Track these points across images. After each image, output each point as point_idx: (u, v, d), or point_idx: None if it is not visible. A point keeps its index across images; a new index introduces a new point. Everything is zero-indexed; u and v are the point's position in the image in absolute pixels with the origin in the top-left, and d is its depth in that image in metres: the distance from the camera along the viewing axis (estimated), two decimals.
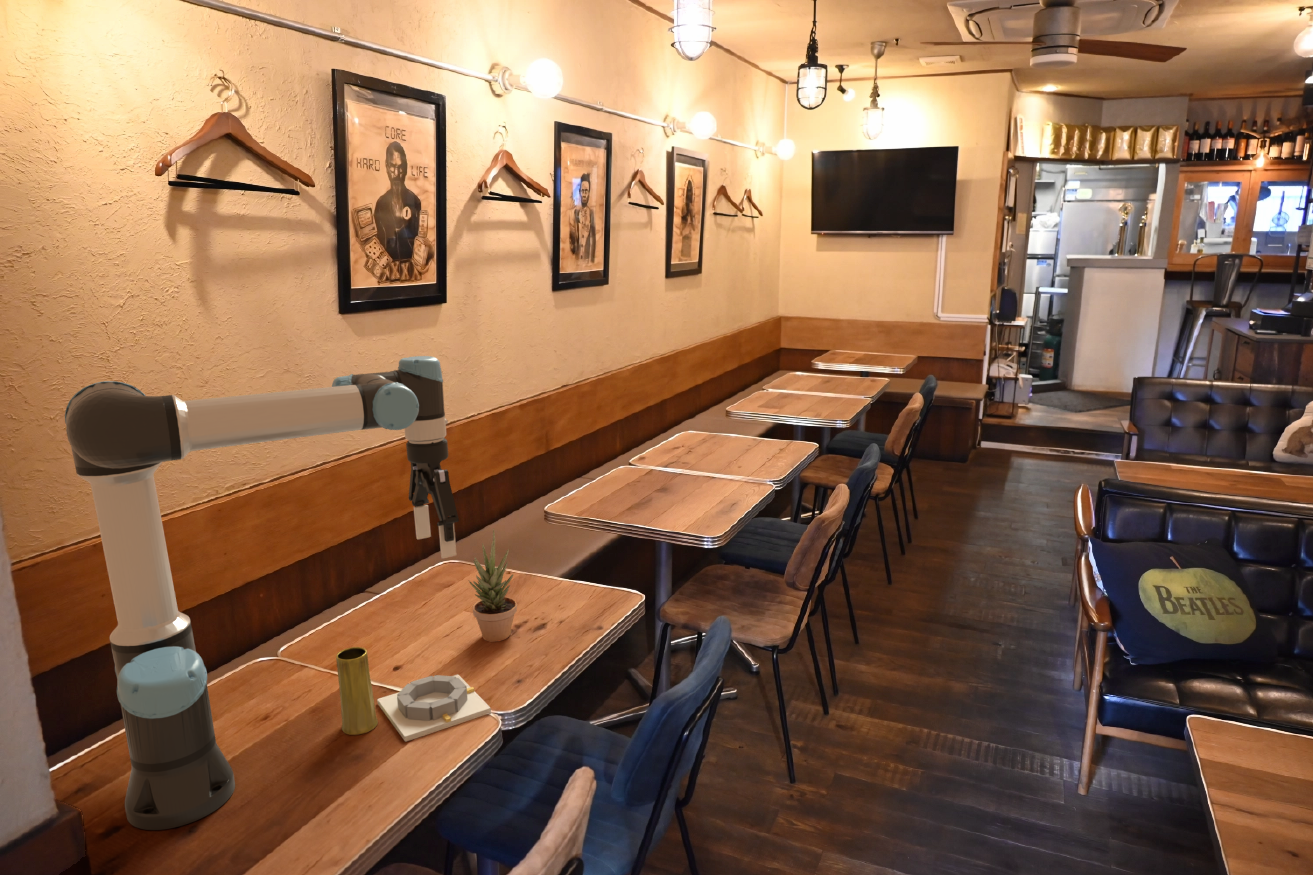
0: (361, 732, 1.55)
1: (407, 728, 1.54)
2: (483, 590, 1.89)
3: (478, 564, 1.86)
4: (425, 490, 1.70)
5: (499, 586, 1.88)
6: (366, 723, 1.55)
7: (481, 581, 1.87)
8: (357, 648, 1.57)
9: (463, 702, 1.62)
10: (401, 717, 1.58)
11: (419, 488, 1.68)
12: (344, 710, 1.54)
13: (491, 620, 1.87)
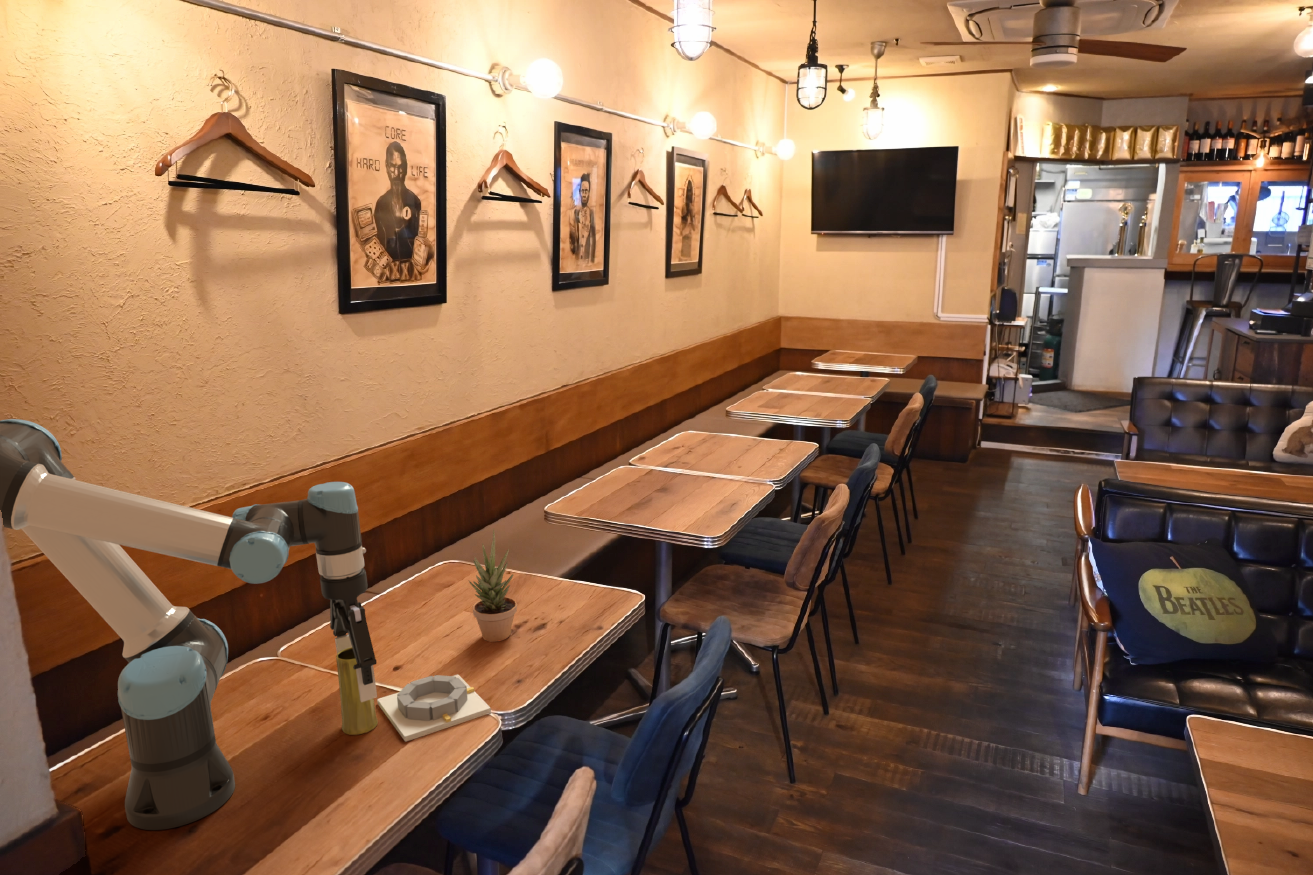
0: (361, 732, 1.55)
1: (407, 728, 1.54)
2: (483, 590, 1.89)
3: (478, 564, 1.86)
4: None
5: (499, 586, 1.88)
6: (366, 723, 1.55)
7: (481, 581, 1.87)
8: None
9: (463, 702, 1.62)
10: (401, 717, 1.58)
11: (338, 620, 1.56)
12: (344, 710, 1.54)
13: (491, 620, 1.87)
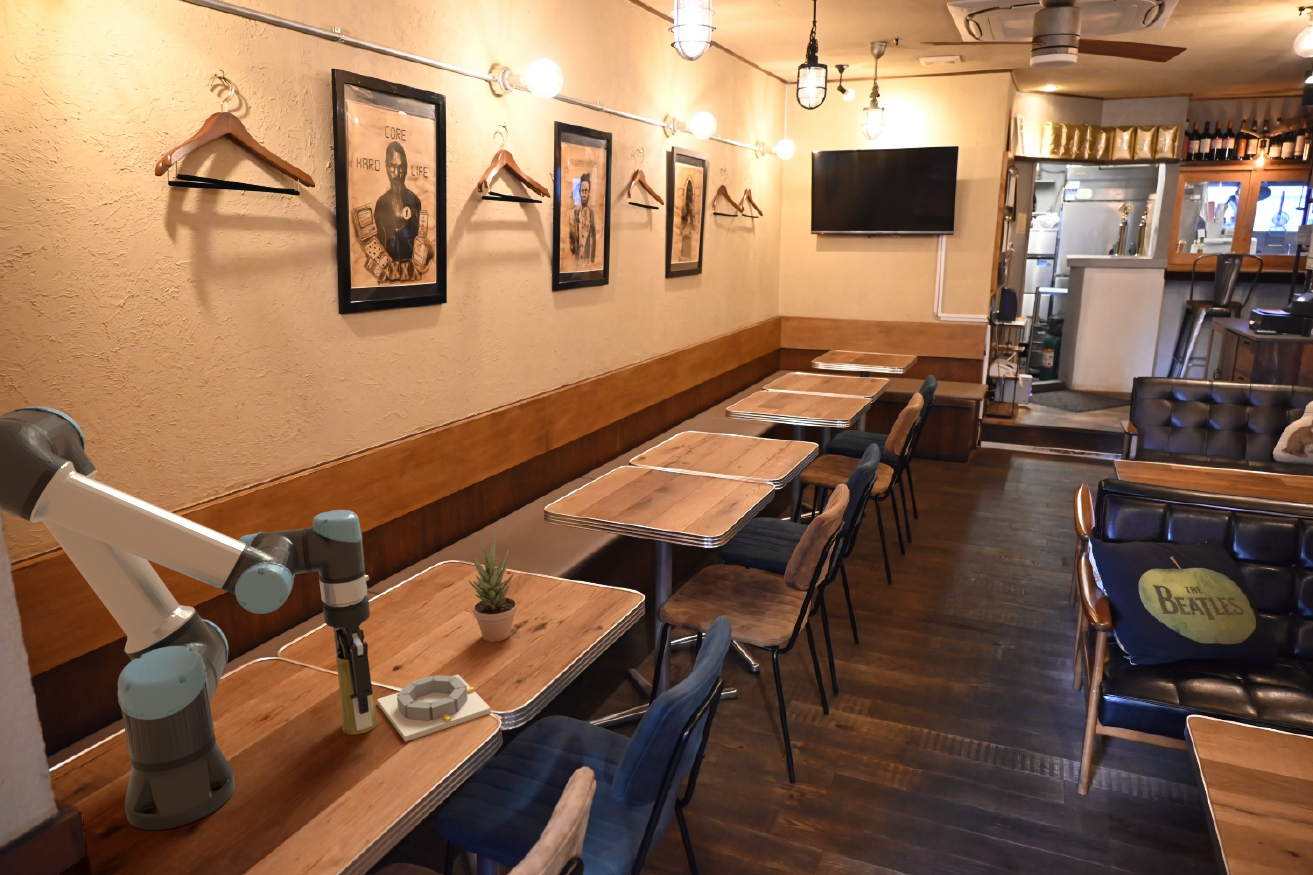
0: (361, 732, 1.55)
1: (407, 728, 1.54)
2: (483, 590, 1.89)
3: (478, 564, 1.86)
4: None
5: (499, 586, 1.88)
6: None
7: (481, 581, 1.87)
8: None
9: (463, 702, 1.62)
10: (401, 717, 1.58)
11: (343, 653, 1.55)
12: (344, 710, 1.54)
13: (491, 620, 1.87)
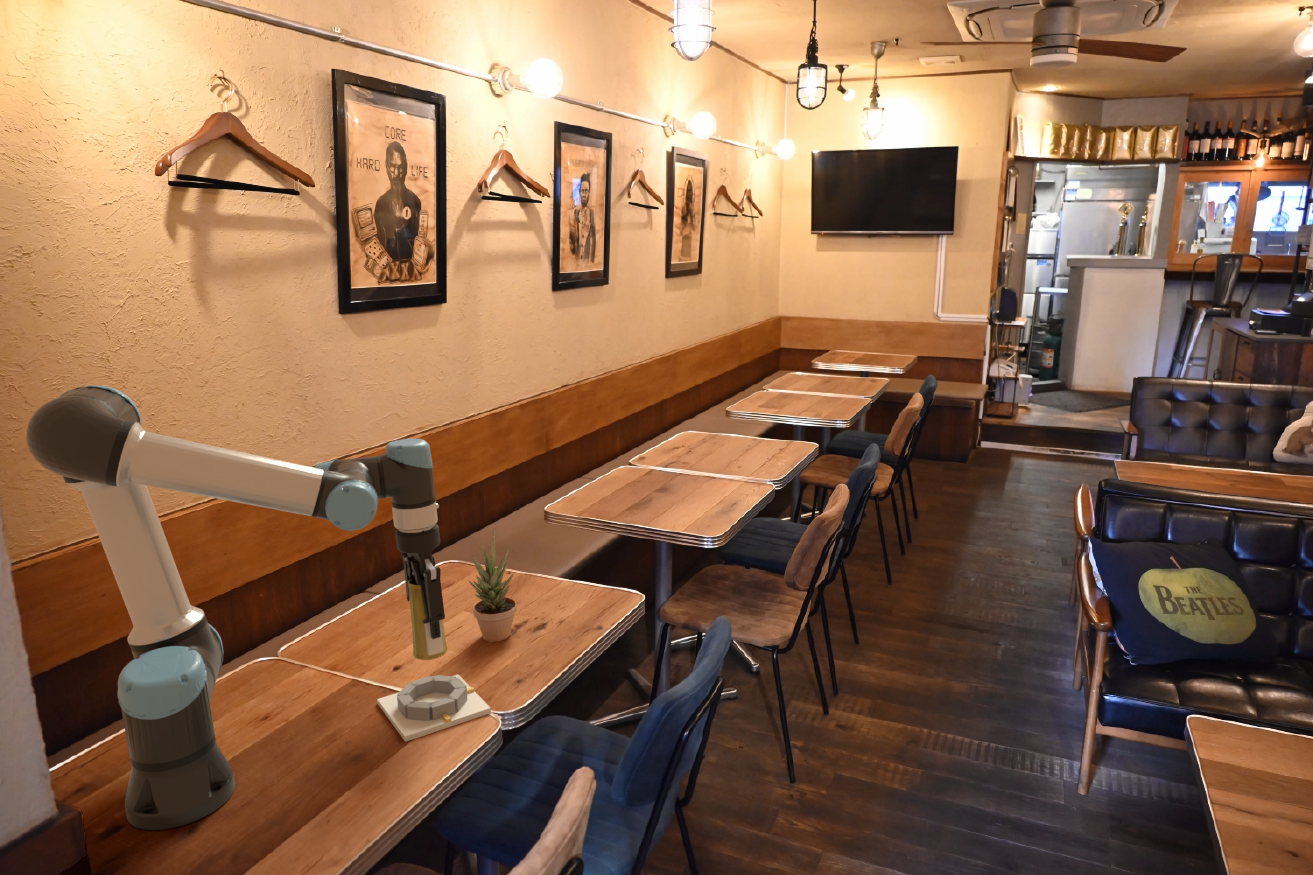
0: (433, 657, 1.58)
1: (407, 728, 1.54)
2: (483, 590, 1.89)
3: (478, 564, 1.86)
4: None
5: (499, 586, 1.88)
6: None
7: (481, 581, 1.87)
8: None
9: (463, 702, 1.62)
10: (401, 717, 1.58)
11: (413, 581, 1.58)
12: (416, 636, 1.57)
13: (491, 620, 1.87)
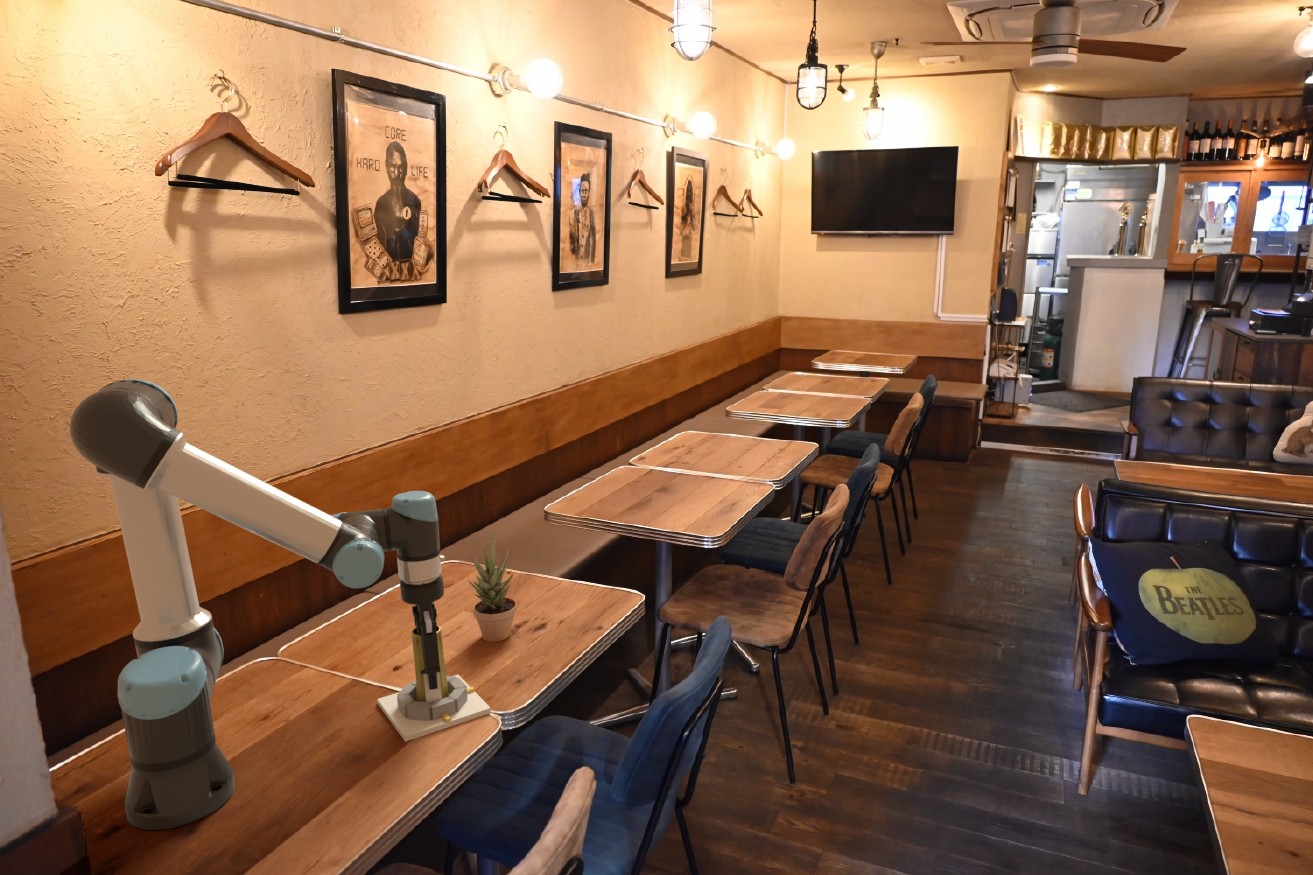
0: None
1: (407, 728, 1.54)
2: (483, 590, 1.89)
3: (478, 564, 1.86)
4: None
5: (499, 586, 1.88)
6: None
7: (481, 581, 1.87)
8: None
9: (463, 702, 1.62)
10: (401, 717, 1.58)
11: None
12: (417, 684, 1.60)
13: (491, 620, 1.87)
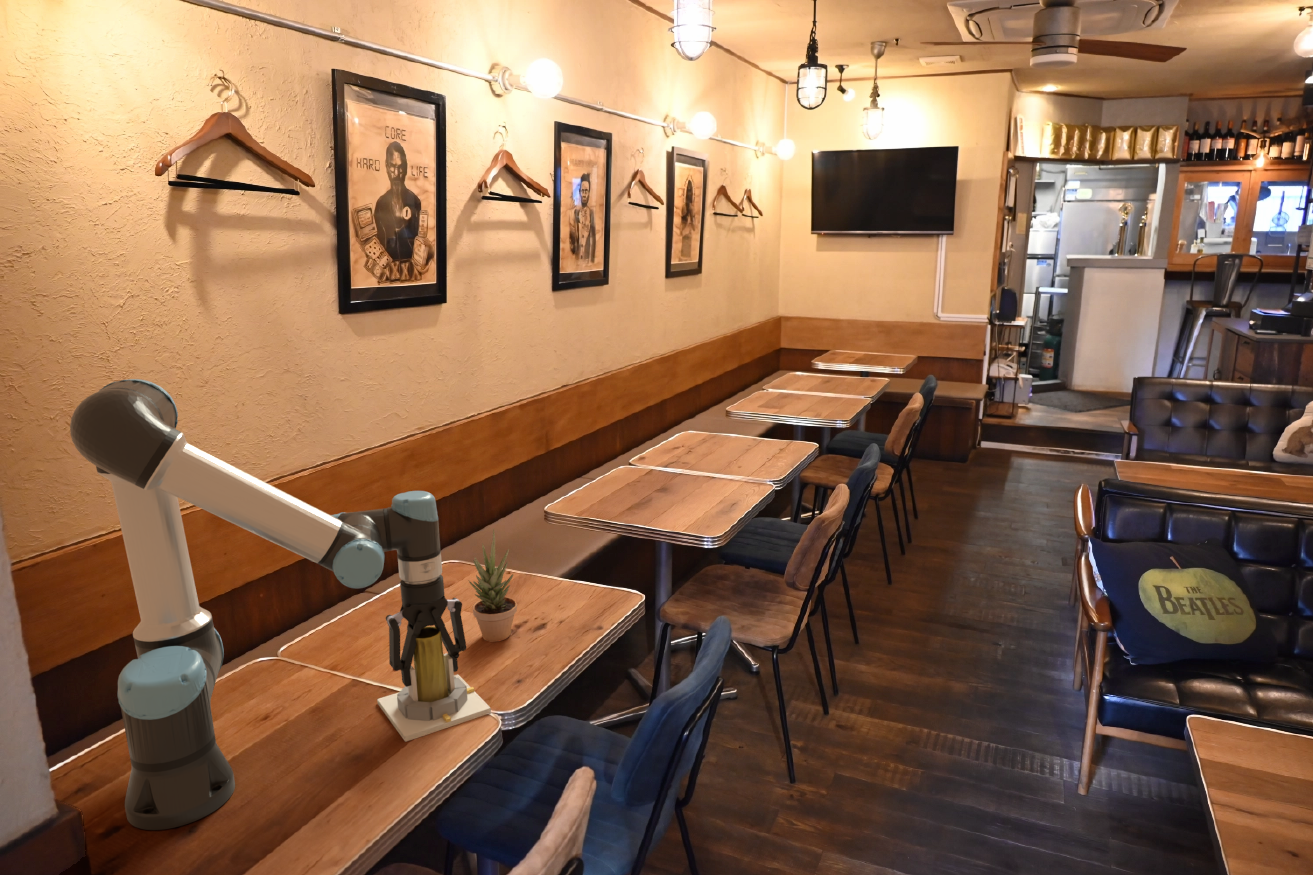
0: None
1: (407, 728, 1.54)
2: (483, 590, 1.89)
3: (478, 564, 1.86)
4: None
5: (499, 586, 1.88)
6: (418, 701, 1.60)
7: (481, 581, 1.87)
8: None
9: (463, 702, 1.62)
10: (401, 717, 1.58)
11: None
12: None
13: (491, 620, 1.87)
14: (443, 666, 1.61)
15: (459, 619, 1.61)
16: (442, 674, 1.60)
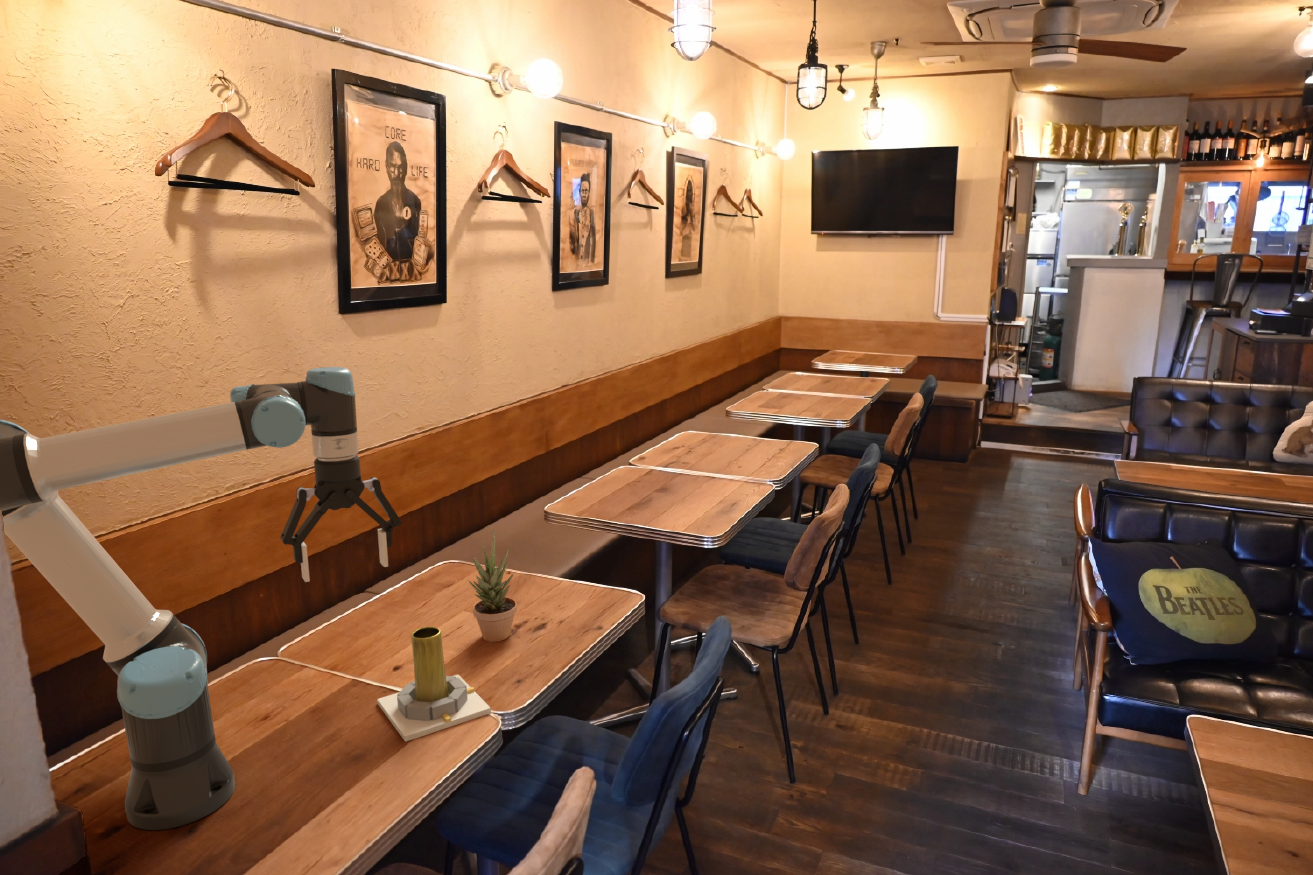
0: None
1: (407, 728, 1.54)
2: (483, 590, 1.89)
3: (478, 564, 1.86)
4: (367, 513, 1.57)
5: (499, 586, 1.88)
6: (418, 701, 1.60)
7: (481, 581, 1.87)
8: None
9: (463, 702, 1.62)
10: (401, 717, 1.58)
11: None
12: None
13: (491, 620, 1.87)
14: (443, 666, 1.61)
15: (382, 496, 1.57)
16: (442, 674, 1.60)
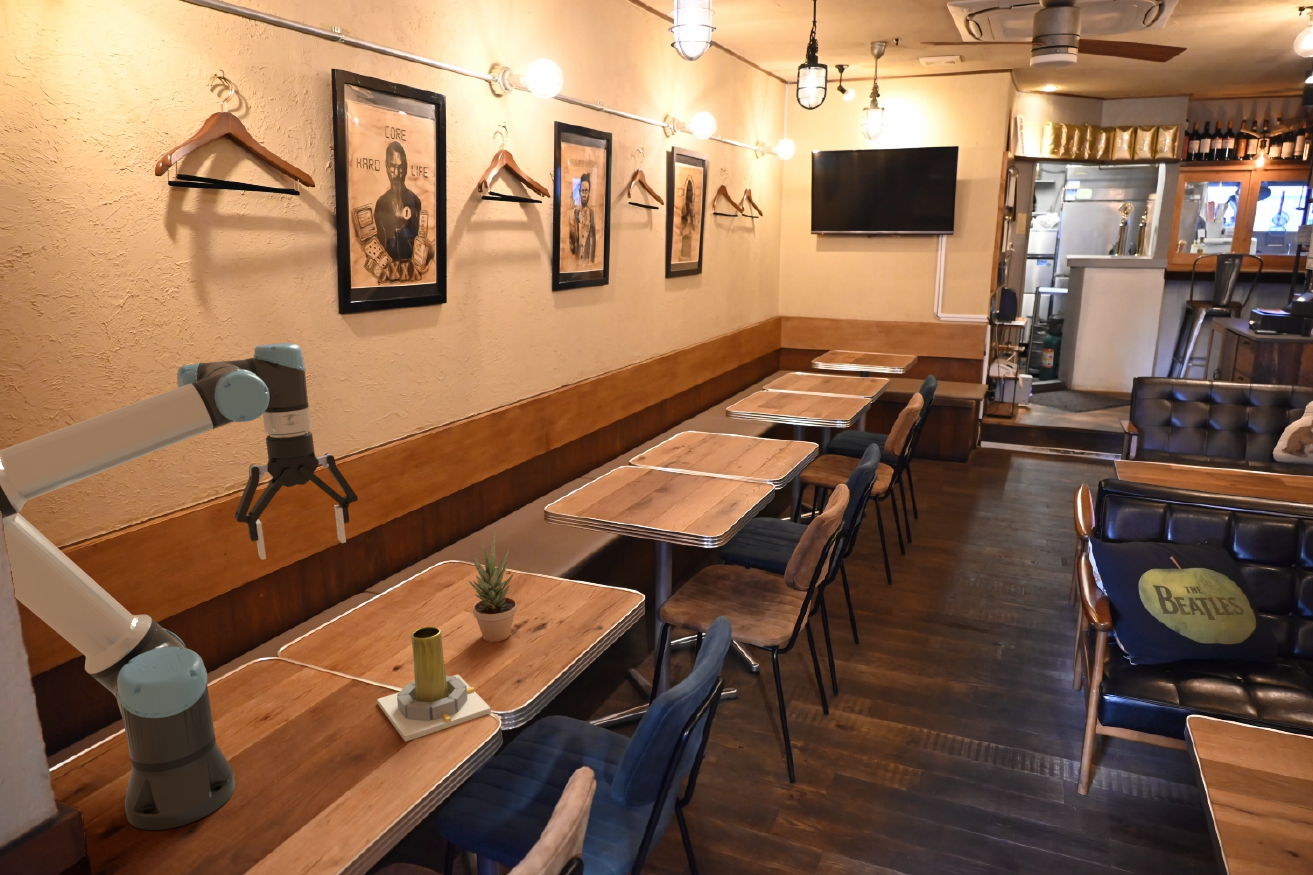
0: None
1: (407, 728, 1.54)
2: (483, 590, 1.89)
3: (478, 564, 1.86)
4: (322, 489, 1.56)
5: (499, 586, 1.88)
6: (418, 701, 1.60)
7: (481, 581, 1.87)
8: None
9: (463, 702, 1.62)
10: (401, 717, 1.58)
11: None
12: None
13: (491, 620, 1.87)
14: (443, 666, 1.61)
15: (337, 472, 1.56)
16: (442, 674, 1.60)
